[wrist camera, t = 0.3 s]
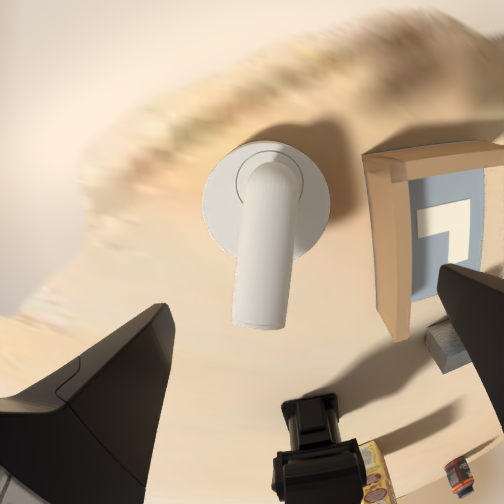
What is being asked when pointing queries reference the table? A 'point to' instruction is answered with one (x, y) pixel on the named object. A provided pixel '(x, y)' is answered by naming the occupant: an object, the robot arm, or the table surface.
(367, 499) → the candy box
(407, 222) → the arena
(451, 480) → the supplement bottle
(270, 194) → the wall hook
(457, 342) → the bracket
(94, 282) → the table surface
